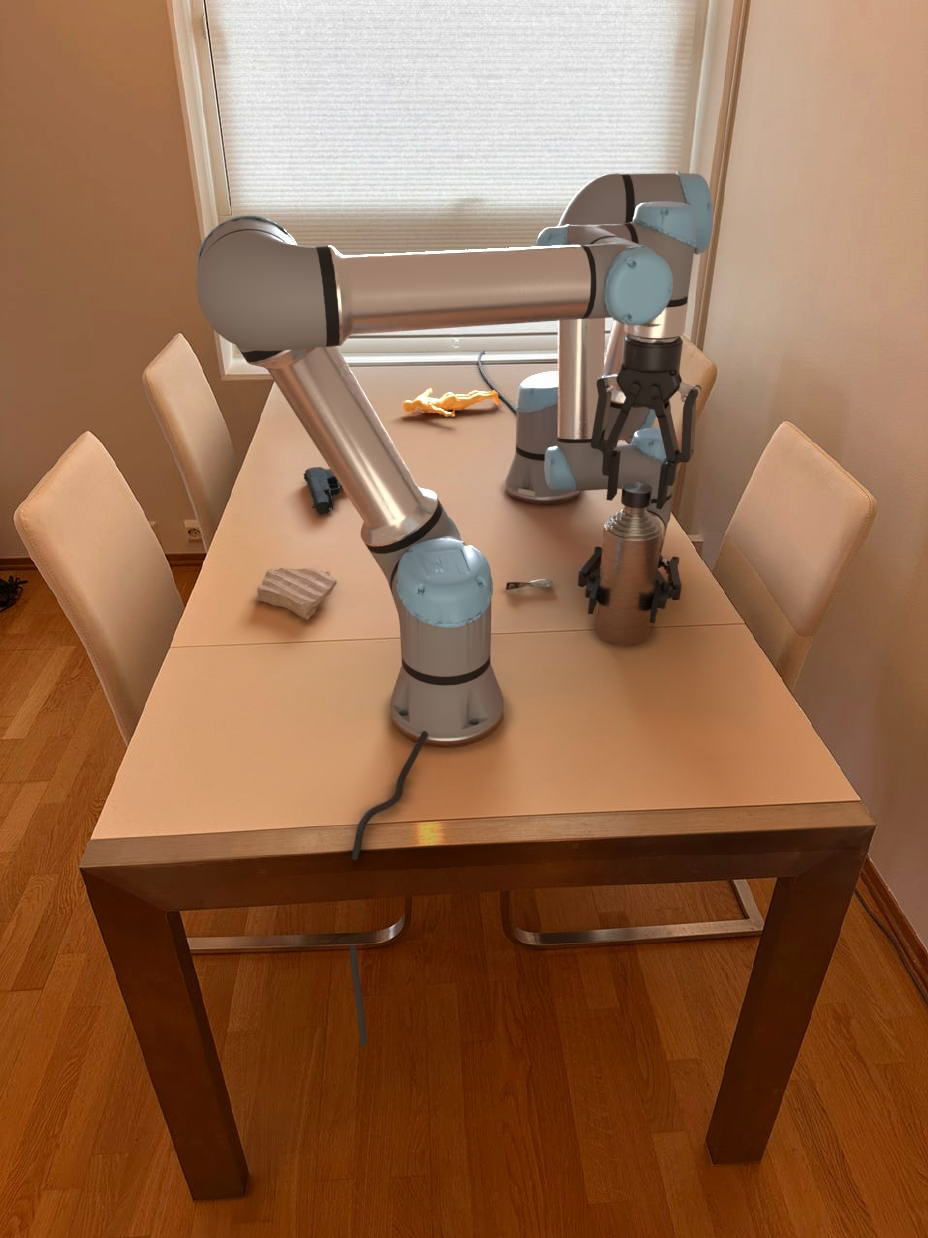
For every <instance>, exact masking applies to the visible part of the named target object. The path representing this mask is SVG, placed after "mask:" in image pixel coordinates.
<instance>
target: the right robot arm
mask: <svg viewBox="0 0 928 1238" xmlns="http://www.w3.org/2000/svg"><path fill="white" fill-rule="evenodd" d="M649 202H679V203H685V204H689V205H691V206H692V207H694V209H695V210H696V212H697V232H696V248H695V250H694V255H697V256H699V255H700V254H704V253H705V252H707V250H708V248H709V247H710V243H711V241H712V235H713V226H714V225H713V224H714V209H713V199H712V194H711V189H710V186H709V184H708V181H707V180H706V179H705V178H704V176H702V175H701V174H699V173H692V172H691V173H689V172H688V173H687V172H680V171H675V173H673V172H672V173H606V174H603V175H600V176H598V177H595V178H593V179H592V180H590V181H589V182H588V183H586V184H585V185H584V186H583V187H582V188H580V190H578V192H576V194H575V195H574V196H573V197H572V199H571V200H570V202H569V203H568V204H567V206H566V208H565V210H564V212H563V214H562V216H561V217H560V220H559V222H558V224H557V227H559V226H565V225H566V224H569V226H570V225H607V224H625V223H628V222H633V217H634V214H635V209H636V207H637V206H638V205H639V204H641V203H649ZM611 322H612V323H611V327H610V332H609V336H608V341H607V346H606V347H605V345H606V343H605V342H606V341H605V338H606V318H597V319H575V320H560V321H557V370H555V371H545V372H540V373H537V374H534V375H531V376H529V377H527V378H525V379H524V380H523V381H522V382H521V383H520V385H518V389H517V395H516V403H515V405H514V404H513V403H512V402H511V401H510V400H509V399H508V397H506V396H505V395H504V394H503V393H502V392H501V391H500V389H498V388H497V386H495V385H494V384H493V382H492V381H491V380H490V378H489V377H488V376H487V374H486V373H485V370H484V367H483V364H482V357H483V355H486V351H485V350H484V349H482V350H481V351H480V352H479V354H478V357H477V365H478V368H479V370H480V373H481V375H482V377H483V378H484V379H485V381H486V382H487V384H488V385H489V386H490V387H491V389H492V390H495V392H497V393H498V397H500V398H501V399H502V400H503V401H504V402H505V403H506V404H507V405H508V406H509V407H510V408H511V409H512V410H513V411H514V413H515V414H516V419H515V421H516V423H515V427H516V428H515V453H514V456H513V458H512V461H511V464H510V467H509V470H508V473H507V475H506V479H505V492H506V493H507V494H508V496H510V497H511V498H513V499H516V500H517V501H519V502H523V503H527V504H533V505H557V504H558V505H559V504H563V503H566V502H569V501H571V500H574V499H576V498H577V497H578V496H579V494H580V492H583V491H584V492H585V491H601V490H607V488H608V476H606V475H603V473H602V465H603V453H602V451H600V450H598V449H593V448H592V447H591V439H592V433H593V427H594V421H595V415H596V409H597V403H598V397H599V396H598V390H597V384H596V382H597V380H598V379H599V378H600V377H601V376H602V375H603V374H608V375H609V376H611V375H617V374H618V373H619V371H620V369H621V363H622V351H623V340H624V337H626V335H627V334H628V333H627V332H626V331H625V323H621V322H618V321H616V320H614V319H613V318H612V321H611ZM605 348H606V349H605ZM625 399H626V397H625V395H624V394H623V392H622V390H621V388H620V387H619V385H618V383H617V384H616V387H615V389H614V390H613V391H612V397H611V402H610V408H609V414H608V420H607V425H606V431H605V437H604V439H606V440H608V437H609V435H610V433H611V431H612V429H613V426H614V424H615V422H616V420H617V417H618V415H619V413H620V411H621V408H622V405H623V403H624V401H625ZM656 418H657V417H656V414H655V410H652V409H648V408H646V407H640V408H637V407H634V409H633V411H632V413H631V415H630V417H629V419H628V422H627V424H626V426H625V428H624V430H623V432H622V435H621V437H620V439H619V441H630V440H631V442H630V443H617V446H616V448H615V450H618V451H621V454H620V465H619V475H618V486H617V490H622V487H623V485H624V484H626V483H629V482H642V483H646V484H649V485H650V486H651V487H652V497H651V504H650V505H649V506H648V507H646V510H647V511H648V512H649V513H650V514H651V515H652V516H653V517H655V518H656V519H657V520H658V521H659V522H660V524H661V526H662V529H663V531H662V539H661V547H660V555H659V563H658V571H657V579H656V587H655V593H654V597H653V602H652V606H651V614H650V622H649V623H651V624H655V623H656V618H657V614H658V609H661V610H665V609H666V608H667V604H668V600H669V599H671V600H672V601H677V602H678V601H680V599H681V594H682V586H683V585H682V580H681V577H680V572H679V564H680V557H679V556H674V555H673V556H672V557H671V558H670V559H669V558H664V556H663V555H662V552H663V547H664V543H665V538H666V536H667V535H666V533H667V529H668V525H669V523H670V520H671V514H672V506H671V504H672V497H673V495H672V494H673V493H672V492H673V487H674V485H673V486H668V489H667V497H666V502H665V504H664V506H663V507H662V509H657V508H656V504H657V496H658V488H659V479H660V471H661V464H662V463H663V461H664V460H665V458H666V453H665V449H664V444H663V440H662V436H661V431H660V427H659V428H658V427H653V426H654V423H655V421H656ZM601 557H602V547H601V546H594V550H593V554H591V556H590V557H589V559H588V560H587V561H586V562H585V563H584V564H583V566H582V567H581V568H580V569H579V570H578V575H577V587H579V588H585V591H584V597H585V599H588V607H587V608H588V609H587V614H588V615H594V613H595V610H596V608H597V603H598V591H599V580H600V568H601ZM661 567H662V568H663V570H664V571H665V574H666V575H667V580H666V578H665V577H664V575H663V574H662V572H661V571H660V568H661Z"/></svg>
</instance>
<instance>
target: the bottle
mask: <svg viewBox="0 0 928 1238" xmlns="http://www.w3.org/2000/svg"><path fill="white" fill-rule="evenodd" d="M662 531H663V529H662V526H661V524H660V522H659V521H658V520H657V519H656V518H655V517H653V516H652V515H651V514H650V513H649V512H648V511H647V510H646V507H645V508H630V507H627V506H625V505H624V508H623V509H621V510H619V511H617V512H615V513H614V514H613V515H610V516H609V517H608V518H607V520H606V521H605V522H604V524H603V535H602V547H601V548H602V557H601V566H600V580H599V591H598V600H597V604H596V615H595V627H594V631H595V634H596V635H597V637H598V638H599V639H601V641H604V642H606V643H608V644H611V645H613V646H618V647H619V646H620V647H632V646H636V645H640V644H642V643H644V642H646V641H647V640H648V639H649V637H650V633H651V626H652V623H649V622H650V614H651V606H652V602H653V597H654V593H655V587H656V579H657V571H658V570H659V569H658V563H659V555H660V547H661V539H662Z"/></svg>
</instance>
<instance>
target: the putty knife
mask: <svg viewBox="0 0 928 1238" xmlns="http://www.w3.org/2000/svg"><path fill="white" fill-rule="evenodd" d="M553 584H554V582H553V580H552V579H550V578H542V579H541V578H540V579H536V580H531V581H529V582H526V581H525V582H524V581H507V582H506V584H505V590H506V591H510V590H516V589H521V588H526V587H532V588H549V587H552V586H553Z"/></svg>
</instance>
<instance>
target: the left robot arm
mask: <svg viewBox="0 0 928 1238" xmlns="http://www.w3.org/2000/svg"><path fill="white" fill-rule="evenodd" d="M696 232H697V212H696V210H695V209H694V207H692V206H691V205H689V204H685V203H679V202H649V203H641V204H639V205H638V206H637V207H636V209H635V214H634V217H633V222H628V223H625V224H607V225H570V226H569V224H566V225H565V226H559V227H558V226H550V227H546V228H544V229H543V230H542V231H541V232H539V234H538V237H537V239H536V242H535V246H530V247H529V246H528V247H527V246H526V247H509V248H507V247H506V248H487V249H485V248H484V249H468V250H467V249H465V250H444V251H443V250H442V251H425V252H405V253H404V252H403V253H384V254H360V255H343V254H342V253H340V252H339V251H338V250H337V249H336V248H335V247H334V246H332V245H319V246H318V245H317V246H310V245H309V246H308V245H298V244H297V242H296V241H295V239H294V238H293V236H292V235H291V234H290V233H289V232H288V231H287V230H286V229H285V227H282V226H280V225H279V224H278V223H277V222H275V221H273V220H271V219H268V218H266V217H262V216H257V215H250V214H249V215H248V214H247V215H245V214H244V215H237V216H233V217H231V218H228V219H226V220H224V221H222V222H220V223H219V224H218V225H216V226H215V227H214V228H213V229H212V230H210V231H209V232H208V234H207V236H206V237H205V238H204V239H203V241H202V243H201V244H200V245H201V246H200V247H199V249H198V254H197V259H196V260H197V261H196V271H197V275H196V296H197V300H198V304H199V307H200V310H201V312H202V314H203V316H204V318H205V320H206V322H207V323H208V324H209V325H210V327H211V328H212V329H213V330H214V331H215V332H216V333H217V334H218V335H219V336H221V337H222V338H223V339H225V340H226V341H228V342H229V343H231V344H232V345H235V346H236V348H237V349H238V351H239V352H240V354H241V355H242V357H243V358H244V360H245V362H246V363H247V364H248V365H251V366H254V367H255V366H256V367H260V368H264V369H265V370H266V371H267V372H268V373H269V375H270V377H271V378H272V380H273V381H274V383H275V384H276V387H278V389H279V391H280V392H281V394H282V396H283V397H284V398H285V400H286V402H287V403H288V405H289V406H290V408H291V410H292V411H293V413H294V414H295V415H296V417H297V419H298V420H299V422H300V423H301V425H302V427H303V428H304V430H305V431H306V433H307V435H308V436H309V439H311V441H312V442H313V444H314V446H315V447H316V449H317V450H318V452H319V453H320V455H321V456H322V458H323V460H324V461H325V463H326V464H327V466H328V467H329V469H331V471H332V472H333V474H334V475H335V477H336V478H337V480H338V482H339V483H340V485H341V486H342V488H341V489H343V491H344V492H345V494H346V496H347V498H348V500H349V501H350V503H352V505H353V507H354V508H355V510H356V511H357V513H358V514H359V516H360V518H361V519H362V521H363V523H362V526H361V528H360V538H361V540H362V542H363V543H364V545H365V546H366V548H367V550H368V551H369V553H370V554H371V556H372V558H373V559H374V560H375V562H376V564H377V565H378V567H379V568H380V570H381V572H382V573H383V575H384V577H385V579H386V581H387V583H388V587H389V590H390V593H391V596H392V598H393V599H392V600H393V602H394V606H395V608H396V611H397V616H398V620H399V621H398V622H399V633H400V634H399V635H400V655H401V667H400V668H399V672H398V675H397V678H396V681H395V684H394V687H393V690H392V693H391V696H390V703H389V706H390V718H391V721H392V724H393V725H394V727H395V728H396V729H397V731H398V732H399V733H400V734H402V735H403V736H404V737H406V738H407V739H409V740H411V741H413V742H415V744H414V747H413V749H412V751H411V753H410V755H409V756H408V758H407V760H406V761H405V764H404V765H403V767H402V769H401V771H400V773H399V776H398V778H397V780H396V785H395V791H394V794H393V795H392V797H390V798H389V799H388V800H386V801H384V802H382V803H380V804H378V805H377V804H376V805H375V806H373V807H372V808H370V809H369V810H367V811H366V812H365V813H364V815H363V816H362V817H361V819H360V820H359V822H358V824H357V828H356V832H355V838H354V841H353V847H352V852H351V860H352V861H357V860H358V859H359V857H360V853H361V848H362V843H363V837H364V833H365V829H366V826H367V825H368V823H369V822H370V820H371V819H372V818H373V817H375V815H377V814H379V813H381V812H383V811H385V810H388V809H390V808H391V807H393V806H395V805H396V804H397V803H398V801H400V799H401V797H402V795H403V790H404V784H405V780H406V778H407V776H408V774H409V772H410V770H411V769H412V766H413V765H414V763H415V761H416V760H417V757H418V755H419V753H420V751H421V750H422V747H423V746H424V745H425V746H430V747H437V748H454V747H455V748H457V747H463V746H467V745H471V744H473V743H476V742H480V741H481V740H483V739H485V738H486V737H488V736H489V735H491V734H492V733H493V732H494V731H495V730H496V729H498V727H499V726H500V724H501V722H502V720H503V717H504V697H503V693H502V690H501V687H500V685H499V682H498V679H497V677H496V674H495V672H494V668H493V666H492V664H491V654H492V653H491V651H492V649H491V648H492V647H491V645H492V599H493V594H494V583H493V577H492V570H491V566H490V563H489V560H488V558H486V556H485V555H484V554H483V553H482V552H481V551H480V550H479V549H478V548H477V547H475V546H473V545H472V544H471V545H470V544H469V545H466V543H465V541H463V540H462V538H461V534H460V531H459V529H458V526H457V525H456V523H455V522H454V521H453V519H452V518H451V517H450V516H449V515H448V513H447V512H446V509H445V508H444V507H443V504H442V503H441V501H440V499H439V498H438V495H437V494H436V493H435V492H434V491H433V490H431V489H428V488H422V487H419V485H418V484H417V482H416V480H415V478H414V477H413V475H412V473H411V472H410V470H409V468H408V466H407V465H406V463H405V461H404V459H403V458H402V456H401V454H400V453H399V451H398V449H397V447H396V445H395V443H394V442H393V440H392V438H391V437H390V435H389V433H388V432H387V429H386V428H385V426H384V425H383V422H382V421H381V420H380V418H379V416H378V415H377V412H376V411H375V409H374V408H373V406H372V404H371V402H370V400H369V399H368V397H367V395H366V394H365V392H364V390H363V388H362V387H361V385H360V383H359V382H358V379H357V378H356V376H355V374H354V373H353V371H352V370H351V368H350V366H349V364H348V363H347V361H346V359H345V357H344V355H343V354H342V352H341V350H340V348H339V347H341V346H342V345H343V344H344V343H345V342H346V341H347V340H348V339H349V337H350V336H353V335H367V334H368V335H369V334H383V333H397V332H411V331H413V332H414V331H426V330H441V329H456V328H470V327H471V328H473V327H485V326H501V325H513V324H514V325H515V324H528V323H529V324H530V323H545V322H558V321H560V320H575V319H597V318H605V319H612V320H613V319H614V320H616V321H618V322H621V323H625V331H626V332H627V333H628V334H627V335H626V337H624V340H623V351H622V363H621V369H620V371H619V373H618V374H617V375H611V376H609V375H608V374H603V375H602V376H601V377H600V378H599V379H598V380H597V382H596V384H597V390H598V396H599V397H598V403H597V409H596V415H595V421H594V427H593V433H592V439H591V447H592V448H593V449H598V450H600V451H602V453H603V465H602V473H603V475H606V476H608V488H607V489H606V501H609V502H610V501H613V499H614V498H615V497H616V496H617V494H618V489H617V486H618V475H619V465H620V454H621V451H618V450H615V448H616V446H617V444H619V441H620V440H619V439H620V437H621V435H622V432H623V430H624V428H625V426H626V424H627V422H628V419H629V417H630V415H631V413H632V411H633V409H634V407H637V408H640V407H646V408H648V409H652V410H655V414H656V418H657V421H658V426H659V429H660V431H661V436H662V440H663V444H664V449H665V453H666V458H665V460H664V461H663V463H662V464H661V471H660V479H659V488H658V496H657V504H656V508H657V509H662V507H663V506H664V504H665V502H666V497H667V489H668V486H673V487H674V484H675V482H676V481H677V478H678V471H679V470H678V468H679V464H680V463H685V464H686V463H689V462H690V461H691V459H692V457H693V456H694V454H695V436H696V416H697V415H696V412H697V402H698V399H699V397H700V394H701V393H702V387H701V385H699V384H693V385H691V384H689V383H686V382H683V379H682V375H681V372H680V369H681V360H682V353H683V344H684V340H683V338H682V337H681V336H683V335H684V334H685V330H686V322H687V315H688V314H687V313H688V305H689V303H688V302H689V293H690V286H691V278H692V271H693V262H694V257H695V256H694V255H695V253H694V250H695V248H696ZM617 383H618V385H619V387H620V388H621V390H622V392H623V394H624V395H625V397H626V399H625V401H624V403H623V405H622V408H621V411H620V413H619V415H618V417H617V420H616V422H615V424H614V426H613V429H612V431H611V433H610V435H609V437H608V440H606V439H604V437H605V431H606V425H607V420H608V414H609V408H610V402H611V397H612V391H613V390H614V389H615V387H616V384H617ZM677 392H679V393H680V400H681V401H682V402H683V407H682V423H681V448H679V444H678V438H677V433H676V429H675V424H674V420H673V415H672V411H671V410H672V406H671V401H670V399H672V397H673V396H674V395H675V394H676V393H677ZM680 449H681V450H680ZM349 956H350V968H351V976H352V984H353V992H354V998H355V1006H356V1014H357V1022H358V1023H357V1024H358V1033H359V1043H360V1046H362V1047H365V1046H366V1045H367V1044H368V1040H367V1039H368V1038H367V1029H366V1028H367V1027H366V1019H365V1017H366V1016H365V1010H364V1002H363V994H362V993H363V992H362V987H361V979H360V978H361V977H360V970H359V959H358V945H353V944H349Z"/></svg>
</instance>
